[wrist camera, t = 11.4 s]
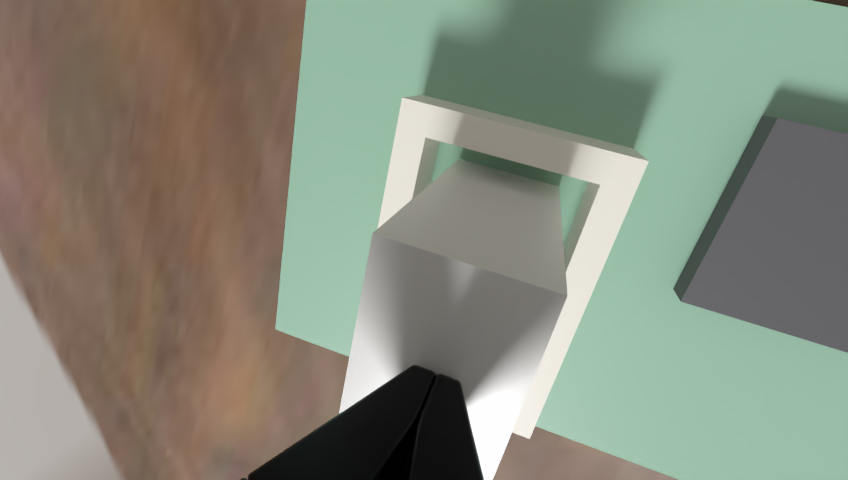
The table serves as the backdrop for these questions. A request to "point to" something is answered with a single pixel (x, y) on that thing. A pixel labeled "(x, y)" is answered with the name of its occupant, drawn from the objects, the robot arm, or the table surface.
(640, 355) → the board
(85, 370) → the table surface
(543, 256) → the plug
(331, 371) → the table surface
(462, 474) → the robot arm
